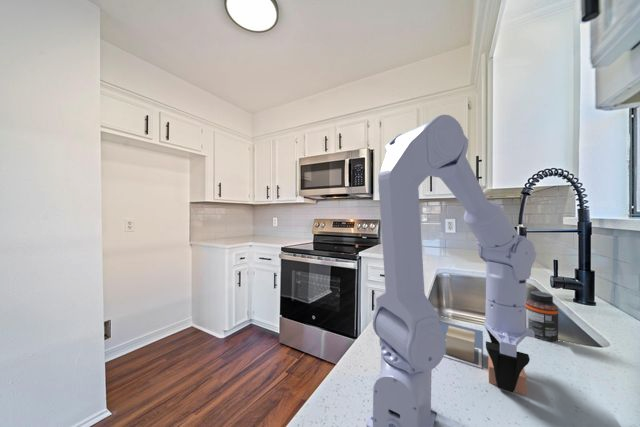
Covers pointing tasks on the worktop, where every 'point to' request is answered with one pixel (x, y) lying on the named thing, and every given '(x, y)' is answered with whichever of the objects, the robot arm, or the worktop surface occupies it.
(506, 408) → the worktop surface
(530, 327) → the supplement bottle
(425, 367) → the robot arm
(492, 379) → the terracotta block
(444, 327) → the board
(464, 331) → the cream block
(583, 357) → the worktop surface
